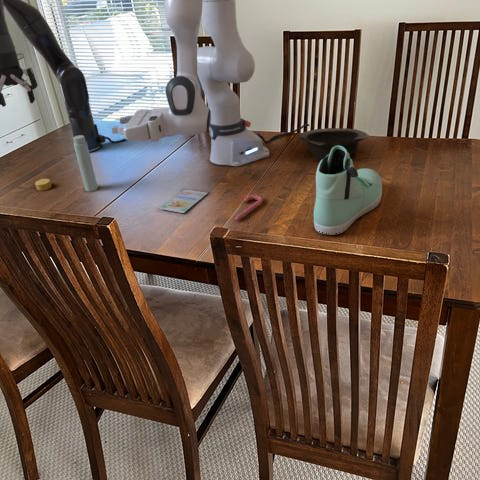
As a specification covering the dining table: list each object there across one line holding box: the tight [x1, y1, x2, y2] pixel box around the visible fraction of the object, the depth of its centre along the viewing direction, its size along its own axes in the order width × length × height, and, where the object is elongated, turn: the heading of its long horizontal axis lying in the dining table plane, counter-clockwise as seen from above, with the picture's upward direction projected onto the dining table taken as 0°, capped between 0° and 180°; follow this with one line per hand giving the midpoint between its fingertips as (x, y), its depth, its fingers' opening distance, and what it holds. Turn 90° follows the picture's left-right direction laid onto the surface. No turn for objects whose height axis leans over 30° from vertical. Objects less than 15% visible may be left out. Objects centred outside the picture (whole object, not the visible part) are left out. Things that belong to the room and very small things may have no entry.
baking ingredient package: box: [158, 188, 208, 214], centre depth 150 cm, size 9×1×15 cm
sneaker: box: [313, 146, 383, 236], centre depth 133 cm, size 14×35×20 cm, turn 152°
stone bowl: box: [298, 127, 370, 162], centre depth 173 cm, size 25×25×9 cm
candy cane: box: [234, 194, 264, 222], centre depth 143 cm, size 6×15×2 cm, turn 145°
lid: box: [34, 178, 52, 192], centre depth 167 cm, size 5×5×2 cm
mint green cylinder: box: [72, 135, 99, 192], centre depth 159 cm, size 4×4×18 cm
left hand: (18, 104), depth 152 cm, fingers open, 8 cm apart
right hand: (116, 125), depth 152 cm, fingers open, 8 cm apart
